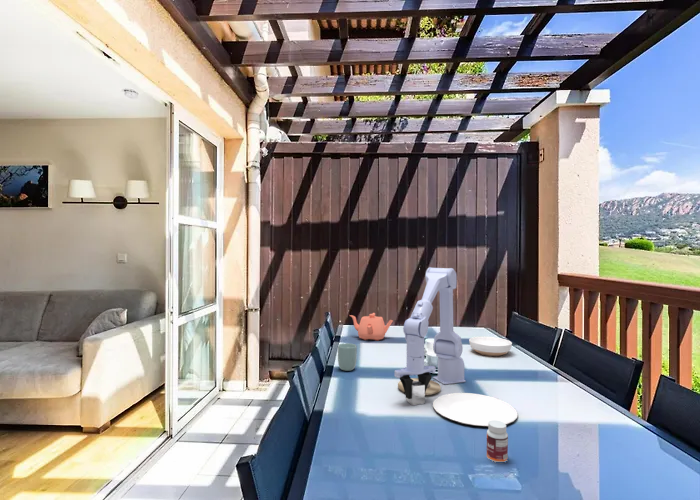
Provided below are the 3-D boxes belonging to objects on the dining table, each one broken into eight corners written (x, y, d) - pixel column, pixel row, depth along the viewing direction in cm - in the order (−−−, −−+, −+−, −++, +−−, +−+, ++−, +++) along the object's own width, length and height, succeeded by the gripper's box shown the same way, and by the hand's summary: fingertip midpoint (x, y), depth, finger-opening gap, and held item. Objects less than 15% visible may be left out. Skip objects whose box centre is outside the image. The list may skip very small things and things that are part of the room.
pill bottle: (483, 454, 96) (483, 419, 96) (501, 453, 96) (502, 419, 96) (491, 464, 91) (492, 428, 91) (511, 463, 92) (511, 427, 92)
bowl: (515, 352, 193) (515, 339, 193) (507, 361, 176) (507, 348, 176) (474, 346, 203) (475, 334, 203) (464, 355, 187) (464, 342, 186)
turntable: (410, 377, 150) (410, 367, 150) (447, 386, 141) (447, 375, 141) (389, 388, 138) (389, 377, 138) (428, 398, 129) (428, 387, 129)
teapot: (348, 337, 221) (348, 313, 221) (373, 333, 232) (374, 310, 232) (368, 344, 206) (369, 318, 206) (394, 339, 217) (394, 314, 217)
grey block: (417, 398, 131) (417, 379, 131) (424, 403, 127) (424, 384, 127) (405, 400, 129) (405, 381, 129) (412, 405, 125) (412, 385, 125)
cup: (354, 373, 158) (354, 348, 158) (335, 371, 160) (335, 347, 160) (358, 367, 166) (358, 343, 166) (340, 366, 167) (340, 342, 167)
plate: (473, 438, 104) (473, 432, 104) (416, 405, 127) (416, 399, 127) (536, 420, 116) (536, 414, 116) (473, 392, 138) (473, 387, 138)
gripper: (427, 350, 135) (426, 389, 135) (389, 354, 129) (389, 395, 129) (439, 355, 128) (439, 396, 128) (400, 360, 122) (400, 403, 122)
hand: (415, 396), depth 128 cm, fingers closed on grey block, 5 cm apart
